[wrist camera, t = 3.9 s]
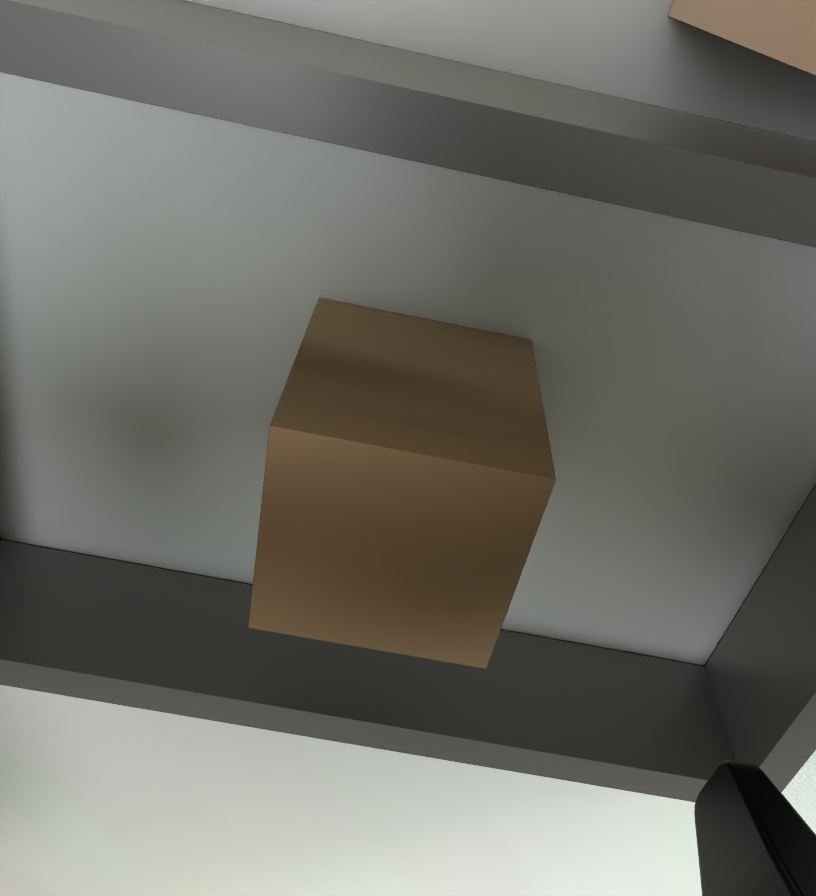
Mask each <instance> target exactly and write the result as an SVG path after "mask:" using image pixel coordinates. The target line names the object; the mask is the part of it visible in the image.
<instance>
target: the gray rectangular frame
mask: <svg viewBox="0 0 816 896" xmlns="http://www.w3.org/2000/svg"><path fill="white" fill-rule="evenodd" d="M0 72H2V73H7V74H12V75H16V76H21V77H26V78H30V79H35V80H40V81H44V82H49V83H54V84H58V85H63V86H68V87H72V88H77V89H82V90H86V91H91V92H96V93H100V94H105V95H109V96H114V97H119V98H123V99H128V100H133V101H137V102H142V103H147V104H151V105H156V106H161V107H165V108H170V109H175V110H179V111H184V112H189V113H193V114H198V115H202V116H207V117H212V118H216V119H221V120H226V121H230V122H235V123H240V124H244V125H249V126H254V127H258V128H263V129H268V130H272V131H277V132H282V133H286V134H291V135H296V136H300V137H305V138H309V139H314V140H319V141H323V142H328V143H333V144H337V145H342V146H347V147H351V148H356V149H361V150H365V151H370V152H375V153H379V154H384V155H389V156H393V157H398V158H402V159H407V160H412V161H416V162H421V163H426V164H430V165H435V166H440V167H444V168H449V169H454V170H458V171H463V172H468V173H472V174H477V175H482V176H486V177H491V178H496V179H500V180H505V181H509V182H514V183H519V184H523V185H528V186H533V187H537V188H542V189H547V190H551V191H556V192H561V193H565V194H570V195H575V196H579V197H584V198H589V199H593V200H598V201H602V202H607V203H612V204H616V205H621V206H626V207H630V208H635V209H640V210H644V211H649V212H654V213H658V214H663V215H668V216H672V217H677V218H682V219H686V220H691V221H696V222H700V223H705V224H709V225H714V226H719V227H723V228H728V229H733V230H737V231H742V232H747V233H751V234H756V235H761V236H765V237H770V238H775V239H779V240H784V241H789V242H793V243H798V244H802V245H807V246H812V247H816V142H815V141H810V140H806V139H801V138H797V137H792V136H788V135H783V134H779V133H774V132H770V131H765V130H761V129H756V128H752V127H748V126H743V125H739V124H734V123H730V122H725V121H721V120H716V119H712V118H707V117H703V116H698V115H694V114H689V113H685V112H680V111H676V110H671V109H667V108H662V107H658V106H654V105H649V104H645V103H640V102H636V101H631V100H627V99H622V98H618V97H613V96H609V95H604V94H600V93H595V92H591V91H586V90H582V89H577V88H573V87H568V86H564V85H560V84H555V83H551V82H546V81H542V80H537V79H533V78H528V77H524V76H519V75H515V74H510V73H506V72H501V71H497V70H492V69H488V68H483V67H479V66H474V65H470V64H466V63H461V62H457V61H452V60H448V59H443V58H439V57H434V56H430V55H425V54H421V53H416V52H412V51H407V50H403V49H398V48H394V47H389V46H385V45H380V44H376V43H372V42H367V41H363V40H358V39H354V38H349V37H345V36H340V35H336V34H331V33H327V32H322V31H318V30H313V29H309V28H304V27H300V26H295V25H291V24H286V23H282V22H278V21H273V20H269V19H264V18H260V17H255V16H251V15H246V14H242V13H237V12H233V11H228V10H224V9H219V8H215V7H210V6H206V5H201V4H197V3H192V2H188V1H184V0H0ZM252 589H253V585H249V584H243V583H238V582H232V581H227V580H221V579H216V578H210V577H205V576H199V575H193V574H188V573H182V572H177V571H171V570H166V569H160V568H155V567H149V566H143V565H138V564H132V563H127V562H121V561H116V560H110V559H105V558H99V557H93V556H88V555H82V554H77V553H71V552H66V551H60V550H55V549H49V548H43V547H38V546H32V545H27V544H21V543H16V542H10V541H5V540H1V538H0V685H6V686H12V687H18V688H24V689H30V690H36V691H42V692H48V693H53V694H59V695H65V696H71V697H77V698H83V699H89V700H95V701H101V702H107V703H112V704H118V705H124V706H130V707H136V708H142V709H148V710H154V711H160V712H166V713H172V714H177V715H183V716H189V717H195V718H201V719H207V720H213V721H219V722H225V723H231V724H237V725H242V726H248V727H254V728H260V729H266V730H272V731H278V732H284V733H290V734H296V735H302V736H307V737H313V738H319V739H325V740H331V741H337V742H343V743H349V744H355V745H361V746H367V747H372V748H378V749H384V750H390V751H396V752H402V753H408V754H414V755H420V756H426V757H432V758H437V759H443V760H449V761H455V762H461V763H467V764H473V765H479V766H485V767H491V768H496V769H502V770H508V771H514V772H520V773H526V774H532V775H538V776H544V777H550V778H556V779H561V780H567V781H573V782H579V783H585V784H591V785H597V786H603V787H609V788H615V789H621V790H626V791H632V792H638V793H644V794H650V795H656V796H662V797H668V798H674V799H680V800H686V801H691V802H696V799H697V796H698V794H699V793H700V791H701V790H702V788H703V787H704V785H705V784H706V783H707V781H708V780H709V778H710V777H711V775H712V774H713V773H714V771H715V770H716V768H717V767H718V765H719V764H720V763H721V762H723V761H726V760H732V761H738V762H744V763H750V764H753V765H756V766H757V767H759V768H760V769H761V770H762V771H763V772H764V773H765V774H766V775H767V776H768V777H769V779H770V780H771V781H772V782H773V784H774V785H775V786H776V787H777V788H778V790H779V791H780V792H782V791H783V790H784V788H785V787H786V786H787V785H788V783H789V782H790V781H791V780H792V779H793V777H794V776H795V775H796V774H797V772H798V771H799V770H800V769H801V767H802V766H803V765H804V764H805V762H806V761H807V760H808V759H809V757H810V756H811V755H812V754H813V752H814V751H815V750H816V486H815V487H814V489H813V490H812V492H811V494H810V495H809V497H808V499H807V500H806V502H805V504H804V505H803V507H802V508H801V510H800V512H799V513H798V515H797V517H796V518H795V520H794V522H793V523H792V525H791V526H790V528H789V530H788V531H787V533H786V535H785V536H784V538H783V540H782V541H781V543H780V544H779V546H778V548H777V549H776V551H775V553H774V554H773V556H772V558H771V559H770V561H769V562H768V564H767V566H766V567H765V569H764V571H763V572H762V574H761V576H760V577H759V579H758V580H757V582H756V584H755V585H754V587H753V589H752V590H751V592H750V594H749V595H748V597H747V598H746V600H745V602H744V603H743V605H742V607H741V608H740V610H739V611H738V613H737V615H736V616H735V618H734V620H733V621H732V623H731V625H730V626H729V628H728V629H727V631H726V633H725V634H724V636H723V638H722V639H721V641H720V643H719V644H718V646H717V647H716V649H715V651H714V652H713V654H712V656H711V657H710V659H709V661H708V662H707V664H706V665H705V667H704V666H699V665H693V664H688V663H682V662H677V661H671V660H665V659H660V658H654V657H649V656H643V655H638V654H632V653H627V652H621V651H615V650H610V649H604V648H599V647H593V646H588V645H582V644H577V643H571V642H565V641H560V640H554V639H549V638H543V637H538V636H532V635H527V634H521V633H516V632H510V631H504V630H500V632H499V635H498V638H497V640H496V643H495V646H494V649H493V651H492V654H491V657H490V659H489V662H488V665H487V667H486V669H484V668H479V667H473V666H467V665H461V664H456V663H450V662H444V661H438V660H432V659H427V658H421V657H415V656H409V655H404V654H398V653H392V652H386V651H380V650H375V649H369V648H363V647H357V646H352V645H346V644H340V643H334V642H328V641H323V640H317V639H311V638H305V637H300V636H294V635H288V634H282V633H276V632H271V631H265V630H259V629H253V628H248V626H249V617H250V608H251V598H252Z"/></svg>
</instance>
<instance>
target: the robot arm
mask: <svg viewBox="0 0 816 896" xmlns="http://www.w3.org/2000/svg"><path fill="white" fill-rule="evenodd" d="M694 813H695V825H696V836H697V846H698V856H699V867H700V877H701V887H702V896H816V834H815V833H814V832H813V831H812V830H811V828H810V827H809V826H808V825H807V824H806V822H805V821H804V820H803V819H802V817H801V816H800V815H799V814H798V813H797V811H796V810H795V809H794V808H793V807H792V805H791V804H790V803H789V802H788V800H787V799H786V798H785V797H784V796H783V794H782V793H781V792H780V791H779V790H778V788H777V787H776V786H775V785H774V784H773V782H772V781H771V780H770V779H769V777H768V776H767V775H766V774H765V773H764V772H763V771H762V770H761V769H760V768H759V767H757V766H756V765H753V764H750V763H744V762H738V761H732V760H726V761H723V762H721V763H720V764H719V765H718V767H717V768H716V770H715V771H714V773H713V774H712V775H711V777H710V778H709V780H708V781H707V783H706V784H705V785H704V787H703V788H702V790H701V791H700V793H699V794H698V796H697V799H696V803H695V812H694Z"/></svg>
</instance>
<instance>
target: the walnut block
mask: <svg viewBox="0 0 816 896" xmlns="http://www.w3.org/2000/svg"><path fill="white" fill-rule="evenodd" d="M555 481H556V478H555V472H554V466H553V461H552V455H551V449H550V444H549V438H548V432H547V427H546V421H545V415H544V410H543V404H542V398H541V393H540V387H539V382H538V376H537V370H536V365H535V359H534V353H533V348H532V342H531V340H529V339H524V338H519V337H514V336H509V335H504V334H499V333H494V332H489V331H484V330H479V329H474V328H469V327H464V326H459V325H454V324H449V323H444V322H439V321H434V320H429V319H424V318H419V317H414V316H409V315H404V314H399V313H394V312H389V311H384V310H379V309H374V308H369V307H364V306H359V305H354V304H349V303H344V302H339V301H334V300H329V299H324V298H319V299H318V302H317V304H316V307H315V309H314V312H313V315H312V317H311V320H310V322H309V325H308V328H307V330H306V333H305V336H304V338H303V341H302V343H301V346H300V349H299V351H298V354H297V356H296V359H295V362H294V364H293V367H292V369H291V372H290V375H289V377H288V380H287V382H286V385H285V388H284V390H283V393H282V395H281V398H280V401H279V403H278V406H277V408H276V411H275V414H274V416H273V419H272V421H271V424H270V429H269V439H268V448H267V457H266V467H265V476H264V486H263V495H262V504H261V514H260V523H259V533H258V542H257V551H256V561H255V570H254V579H253V589H252V598H251V608H250V617H249V626H248V628H253V629H259V630H265V631H271V632H276V633H282V634H288V635H294V636H300V637H305V638H311V639H317V640H323V641H328V642H334V643H340V644H346V645H352V646H357V647H363V648H369V649H375V650H380V651H386V652H392V653H398V654H404V655H409V656H415V657H421V658H427V659H432V660H438V661H444V662H450V663H456V664H461V665H467V666H473V667H479V668H484V669H486V667H487V665H488V662H489V659H490V657H491V654H492V651H493V649H494V646H495V643H496V640H497V638H498V635H499V632H500V630H501V627H502V624H503V621H504V619H505V616H506V613H507V611H508V608H509V605H510V602H511V600H512V597H513V594H514V592H515V589H516V586H517V584H518V581H519V578H520V575H521V573H522V570H523V567H524V565H525V562H526V559H527V556H528V554H529V551H530V548H531V546H532V543H533V540H534V538H535V535H536V532H537V529H538V527H539V524H540V521H541V519H542V516H543V513H544V510H545V508H546V505H547V502H548V500H549V497H550V494H551V491H552V489H553V486H554V483H555Z"/></svg>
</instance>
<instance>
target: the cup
mask: <svg viewBox="0 0 816 896" xmlns="http://www.w3.org/2000/svg"><path fill="white" fill-rule="evenodd" d="M669 16H670V17H672V18H675V19H677V20H680V21H682V22H685V23H687V24H690V25H692V26H694V27H697V28H699V29H702V30H704V31H707V32H709V33H712V34H714V35H717V36H719V37H722V38H724V39H727V40H729V41H732V42H734V43H737V44H739V45H742V46H744V47H746V48H749V49H751V50H754V51H756V52H759V53H761V54H764V55H766V56H769V57H771V58H774V59H776V60H779V61H781V62H784V63H786V64H789V65H791V66H794V67H796V68H799V69H801V70H803V71H806V72H808V73H811V74H813V75H816V0H674V1H673V4H672V7H671V10H670V13H669Z"/></svg>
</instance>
